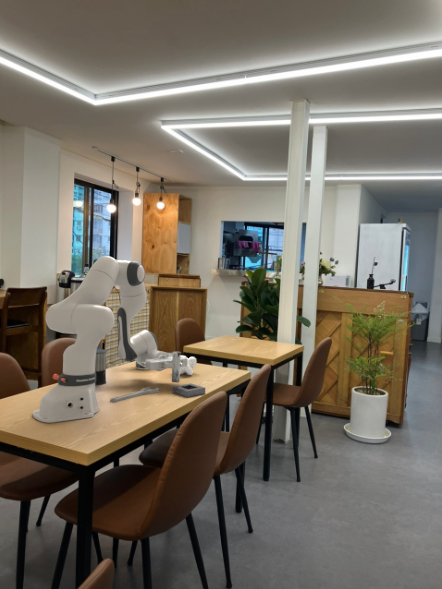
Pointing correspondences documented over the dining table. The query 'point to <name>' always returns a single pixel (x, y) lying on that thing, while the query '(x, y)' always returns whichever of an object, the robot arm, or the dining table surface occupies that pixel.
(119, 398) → the adjustable wrench
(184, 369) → the white knot
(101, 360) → the milk frother
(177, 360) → the keyed metal peg
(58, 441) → the dining table surface
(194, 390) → the socket block
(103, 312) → the robot arm
